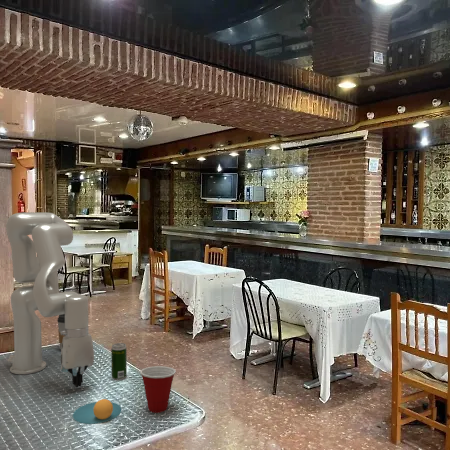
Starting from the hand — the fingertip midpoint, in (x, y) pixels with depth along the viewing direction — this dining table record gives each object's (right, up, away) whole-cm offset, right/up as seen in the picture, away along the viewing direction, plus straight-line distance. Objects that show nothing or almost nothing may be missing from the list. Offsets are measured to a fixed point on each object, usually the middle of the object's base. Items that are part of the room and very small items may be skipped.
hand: (77, 385), depth 146 cm
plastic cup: (+30, -2, -13) cm, 32 cm away
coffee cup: (-19, 0, +42) cm, 46 cm away
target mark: (+12, -2, -16) cm, 20 cm away
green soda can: (+12, -1, +11) cm, 16 cm away
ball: (+14, 0, -20) cm, 25 cm away
